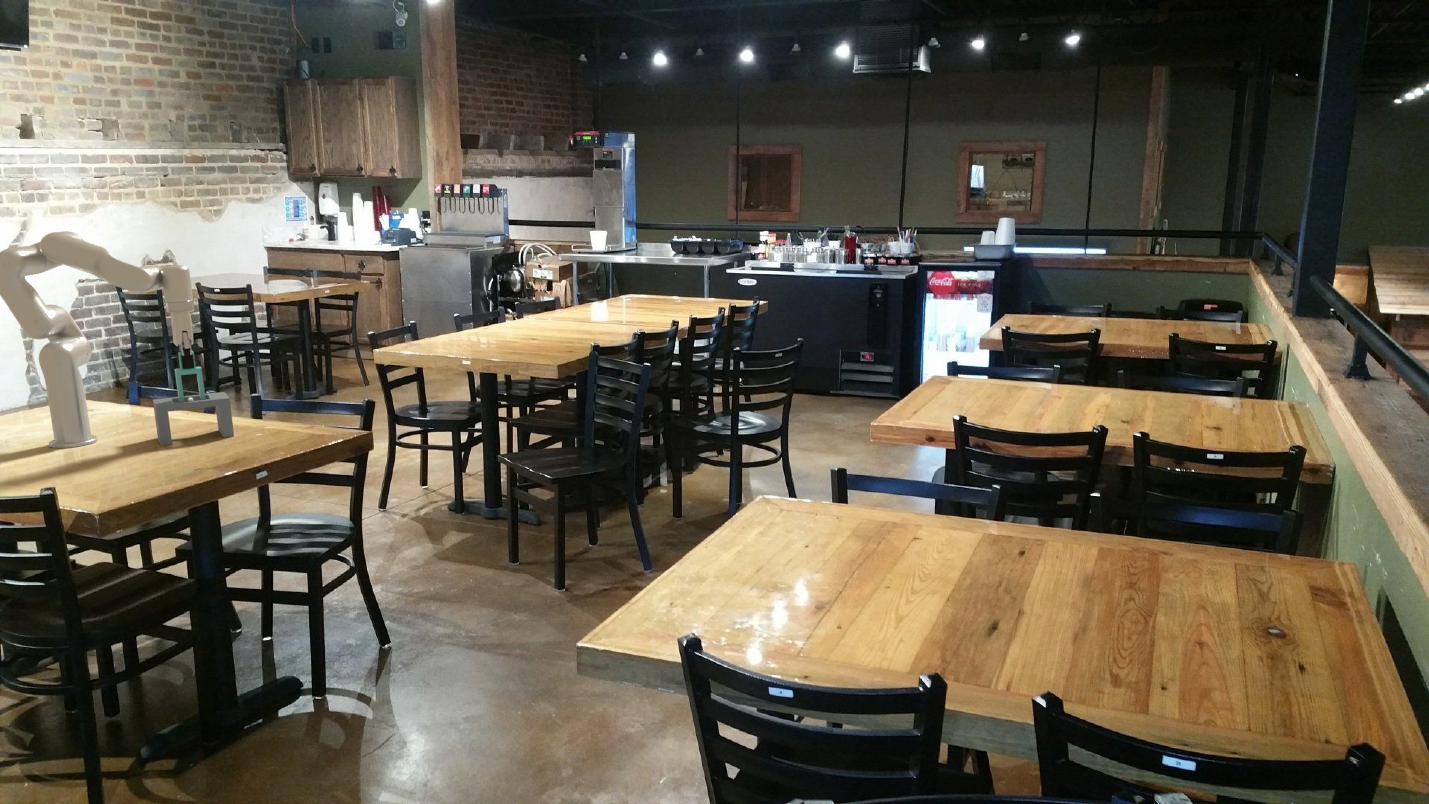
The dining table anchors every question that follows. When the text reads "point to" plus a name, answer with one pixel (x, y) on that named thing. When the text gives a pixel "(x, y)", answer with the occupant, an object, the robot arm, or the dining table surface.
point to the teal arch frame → (185, 372)
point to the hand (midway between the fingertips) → (187, 367)
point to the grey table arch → (191, 403)
